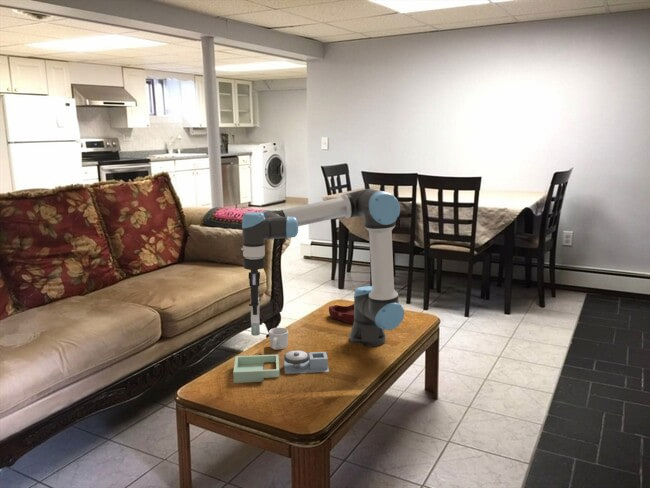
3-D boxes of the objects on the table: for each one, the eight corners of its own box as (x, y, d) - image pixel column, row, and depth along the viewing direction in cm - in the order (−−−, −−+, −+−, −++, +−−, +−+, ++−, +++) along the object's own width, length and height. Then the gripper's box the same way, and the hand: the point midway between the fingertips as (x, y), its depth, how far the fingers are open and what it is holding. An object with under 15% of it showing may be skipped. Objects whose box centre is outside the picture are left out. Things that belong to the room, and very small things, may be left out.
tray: (278, 364, 204) (278, 354, 203) (279, 380, 190) (279, 370, 190) (235, 366, 202) (235, 356, 202) (233, 382, 189) (233, 372, 188)
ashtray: (334, 326, 245) (334, 316, 244) (327, 315, 260) (327, 305, 259) (372, 324, 248) (372, 313, 247) (362, 312, 264) (362, 303, 263)
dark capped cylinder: (259, 332, 195) (259, 293, 192) (259, 335, 192) (258, 295, 189) (251, 332, 195) (250, 293, 192) (251, 335, 192) (250, 295, 189)
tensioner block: (326, 362, 205) (326, 346, 204) (329, 375, 195) (329, 358, 193) (283, 364, 204) (283, 348, 202) (284, 377, 193) (284, 359, 192)
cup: (283, 357, 211) (283, 337, 209) (264, 355, 212) (263, 336, 211) (291, 346, 221) (290, 328, 219) (272, 345, 223) (272, 326, 221)
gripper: (244, 252, 195) (245, 314, 200) (242, 262, 179) (243, 329, 184) (264, 251, 196) (265, 313, 201) (264, 262, 180) (265, 328, 185)
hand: (255, 320), depth 192 cm, fingers closed on dark capped cylinder, 3 cm apart
